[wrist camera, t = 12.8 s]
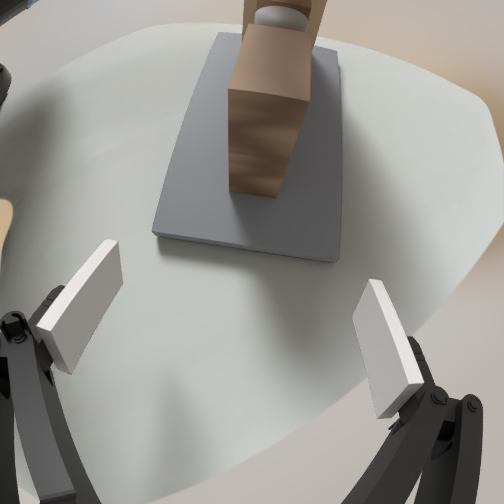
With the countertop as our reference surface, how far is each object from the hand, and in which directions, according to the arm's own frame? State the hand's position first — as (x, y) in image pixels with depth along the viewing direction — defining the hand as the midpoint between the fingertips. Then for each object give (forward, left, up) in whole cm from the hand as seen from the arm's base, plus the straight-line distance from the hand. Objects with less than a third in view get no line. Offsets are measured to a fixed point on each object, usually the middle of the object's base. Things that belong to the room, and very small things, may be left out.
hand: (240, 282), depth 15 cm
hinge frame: (0, +16, -7) cm, 17 cm away
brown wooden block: (0, +12, -6) cm, 13 cm away
